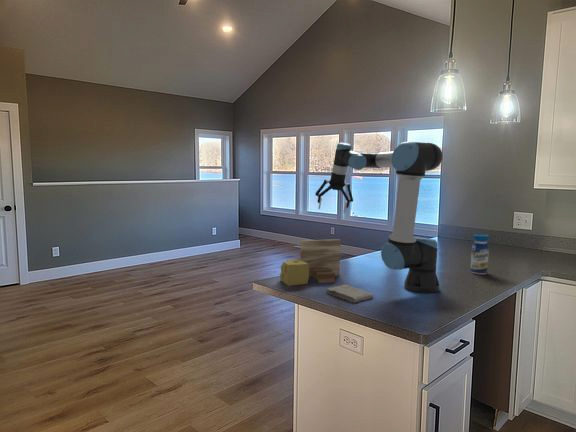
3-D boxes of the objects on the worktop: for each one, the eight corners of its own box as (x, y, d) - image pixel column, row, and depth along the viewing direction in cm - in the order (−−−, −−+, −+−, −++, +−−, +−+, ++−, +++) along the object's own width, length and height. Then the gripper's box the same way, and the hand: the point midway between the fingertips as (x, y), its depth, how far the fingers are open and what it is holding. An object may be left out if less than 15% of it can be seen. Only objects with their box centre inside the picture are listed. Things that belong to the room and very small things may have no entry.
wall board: (347, 281, 198) (348, 244, 196) (306, 283, 195) (306, 245, 193) (336, 273, 214) (337, 238, 212) (298, 274, 211) (299, 239, 209)
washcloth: (343, 289, 188) (343, 282, 188) (374, 299, 174) (374, 292, 174) (324, 293, 181) (324, 286, 181) (354, 304, 167) (354, 297, 167)
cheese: (279, 280, 199) (280, 260, 198) (300, 278, 203) (301, 258, 202) (287, 286, 190) (287, 264, 189) (309, 284, 194) (309, 263, 192)
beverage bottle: (486, 271, 221) (488, 234, 219) (489, 275, 213) (491, 236, 211) (468, 270, 224) (471, 233, 221) (471, 274, 215) (473, 235, 213)
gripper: (362, 174, 220) (354, 212, 228) (315, 167, 221) (309, 204, 229) (363, 178, 213) (354, 216, 221) (315, 170, 214) (308, 209, 222)
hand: (331, 210), depth 225 cm, fingers open, 13 cm apart
